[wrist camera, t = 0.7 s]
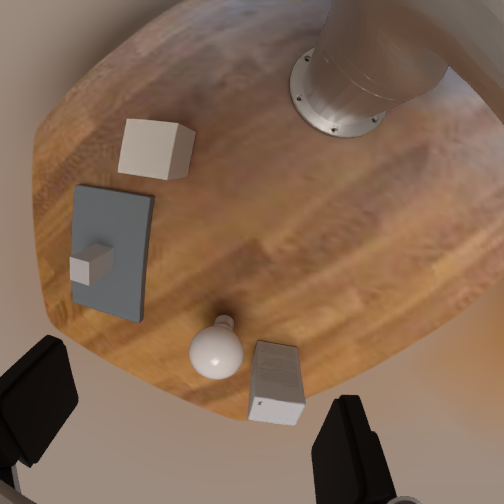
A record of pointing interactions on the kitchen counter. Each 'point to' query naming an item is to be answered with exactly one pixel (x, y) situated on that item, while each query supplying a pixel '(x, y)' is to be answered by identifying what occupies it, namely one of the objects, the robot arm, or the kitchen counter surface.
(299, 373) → the skincare box
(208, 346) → the lightbulb
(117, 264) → the post board
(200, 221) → the kitchen counter surface
